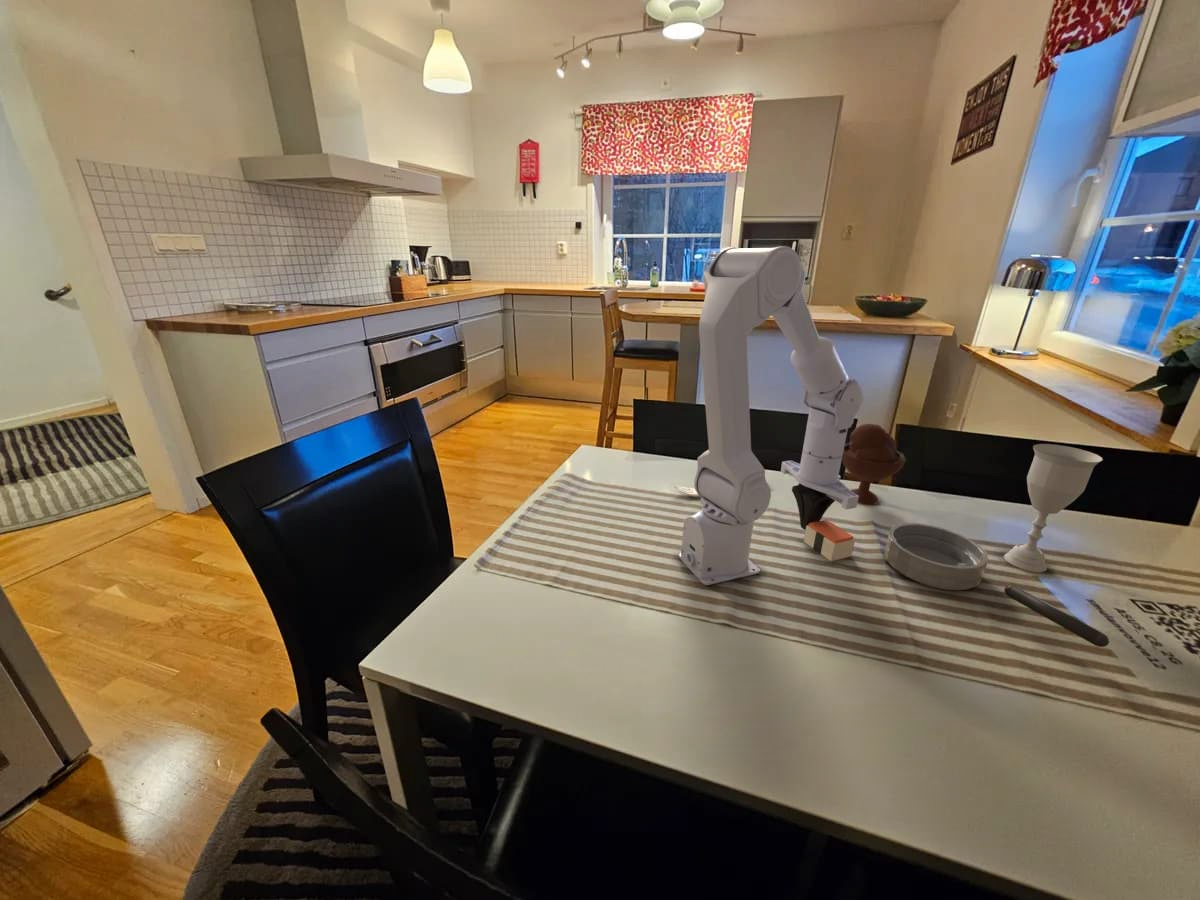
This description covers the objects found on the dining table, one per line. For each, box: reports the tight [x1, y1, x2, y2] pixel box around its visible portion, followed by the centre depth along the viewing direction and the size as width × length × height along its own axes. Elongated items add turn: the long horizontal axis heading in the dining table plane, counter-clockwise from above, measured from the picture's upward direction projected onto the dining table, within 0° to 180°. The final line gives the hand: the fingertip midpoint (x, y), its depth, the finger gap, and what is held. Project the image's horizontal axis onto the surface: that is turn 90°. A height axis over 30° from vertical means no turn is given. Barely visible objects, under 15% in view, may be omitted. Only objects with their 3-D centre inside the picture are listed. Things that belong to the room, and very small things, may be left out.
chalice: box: [1003, 443, 1103, 573], centre depth 71 cm, size 7×7×18 cm
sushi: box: [803, 519, 856, 562], centre depth 77 cm, size 4×6×4 cm
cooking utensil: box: [671, 483, 701, 497], centre depth 97 cm, size 3×20×2 cm, turn 103°
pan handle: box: [1004, 584, 1110, 648], centre depth 59 cm, size 2×11×2 cm, turn 20°
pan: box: [883, 522, 989, 591], centre depth 73 cm, size 12×12×4 cm
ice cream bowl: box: [841, 423, 907, 505], centre depth 92 cm, size 11×11×15 cm
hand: (808, 528), depth 81 cm, fingers closed
